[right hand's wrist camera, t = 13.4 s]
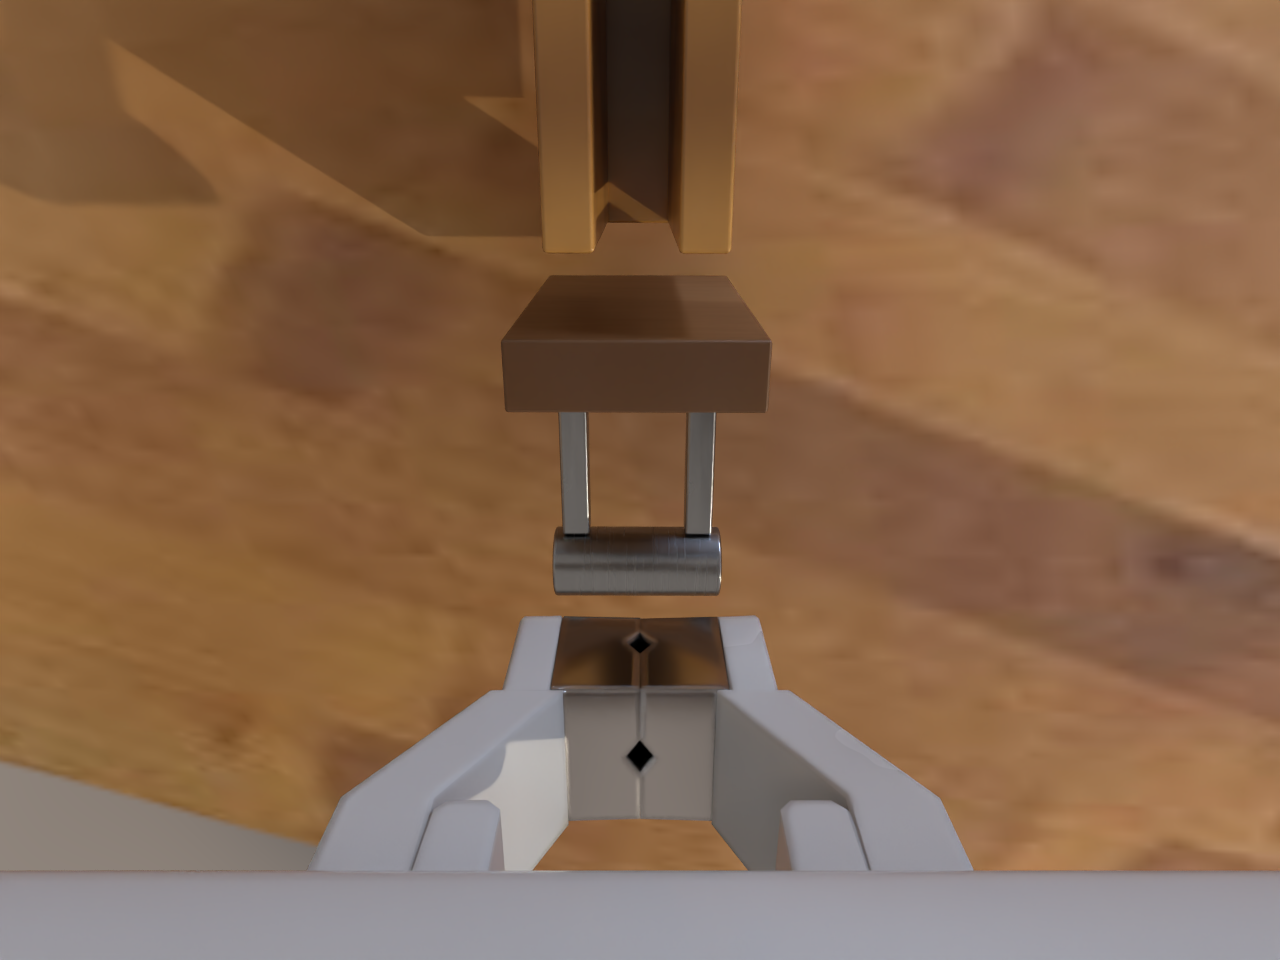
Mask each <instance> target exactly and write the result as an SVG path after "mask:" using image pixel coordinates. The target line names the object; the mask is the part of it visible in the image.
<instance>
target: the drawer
mask: <svg viewBox="0 0 1280 960" xmlns="http://www.w3.org/2000/svg"><path fill="white" fill-rule="evenodd" d="M741 6H742V0H532V7H533V32H534V56H535V80H536V104H537V129H538V153H539V177H540V201H541V225H542V248H543V251H544V252H546V253H591V252H593V251H594V249H595V247H596V245H597V243H598V241H599V239H600V237H601V235H602V233H603V230H604V228H605V226H606V224H607V223H669V225H670V228H671V230H672V233H673V235H674V238H675V240H676V243H677V245H678V248H679V250H680V252H681V253H683V254H727V253H729V252H730V250H731V239H732V216H733V192H734V169H735V146H736V122H737V99H738V76H739V52H740V29H741ZM501 350H502V366H503V382H504V398H505V410H506V411H507V412H558V416H559V443H560V470H561V497H562V524H563V527H557V528H556V530H555V534H554V543H553V585H554V591H555V594H556V595H619V596H717V595H719V592H720V587H721V571H722V556H721V538H720V532H719V529H718V528H717V527H712V512H713V487H714V461H715V436H716V413H765V412H767V410H768V401H769V385H770V370H771V354H772V341H771V340H770V338H769V337H768V335H767V334H766V332H765V331H764V329H763V328H762V327H761V325H760V324H759V322H758V321H757V319H756V318H755V317H754V315H753V314H752V312H751V311H750V309H749V308H748V307H747V305H746V304H745V302H744V301H743V299H742V298H741V296H740V295H739V294H738V292H737V291H736V289H735V288H734V286H733V285H732V284H731V282H730V281H729V279H728V278H727V277H726V276H562V275H551V276H549V278H548V279H547V280H546V282H545V283H544V284H543V286H542V287H541V288H540V290H539V291H538V292H537V294H536V295H535V296H534V298H533V299H532V300H531V302H530V303H529V304H528V306H527V307H526V308H525V310H524V311H523V312H522V314H521V315H520V316H519V318H518V319H517V320H516V322H515V323H514V324H513V326H512V327H511V329H510V330H509V331H508V333H507V334H506V335H505V337H504V338H503V339H502V341H501ZM589 412H665V413H686V449H685V489H684V527H590V526H591V500H590V455H589Z"/></svg>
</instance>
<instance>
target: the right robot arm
mask: <svg viewBox="0 0 1280 960" xmlns="http://www.w3.org/2000/svg"><path fill="white" fill-rule="evenodd" d="M611 819H667V820H704V821H712V825H713V826H714V828H715V829H716V830H717V831H718V833H719V834H720V835H721V836H722V838H723V839H724V840H725V842H726V843H727V844H728V845H729V847H730V848H731V849H732V850H733V852H734V853H735V854H736V855H737V857H738V858H739V859H740V861H741V862H742V863H743V864H744V866H745V867H746V868H747V869H748V871H532V870H533V869H534V867H535V866H536V865H537V864H538V862H539V861H540V860H541V859H542V857H543V856H544V855H545V854H546V852H547V851H548V850H549V849H550V847H551V846H552V845H553V844H554V842H555V841H556V840H557V838H558V837H559V836H560V835H561V833H562V832H563V831H564V830H565V828H566V827H567V826H568V821H576V820H611ZM0 960H1280V871H974V870H973V868H972V866H971V863H970V861H969V859H968V857H967V855H966V853H965V851H964V848H963V846H962V844H961V842H960V840H959V838H958V836H957V833H956V831H955V829H954V827H953V825H952V823H951V821H950V819H949V816H948V814H947V812H946V810H945V808H944V806H943V804H942V801H941V799H940V798H939V797H938V796H936V795H935V794H933V793H932V792H931V791H929V790H928V789H926V788H925V787H924V786H922V785H921V784H919V783H918V782H917V781H915V780H914V779H912V778H911V777H910V776H908V775H907V774H905V773H904V772H903V771H901V770H900V769H899V768H897V767H896V766H894V765H893V764H892V763H890V762H889V761H887V760H886V759H885V758H883V757H882V756H880V755H879V754H878V753H876V752H875V751H873V750H872V749H871V748H869V747H868V746H866V745H865V744H864V743H862V742H861V741H859V740H858V739H857V738H855V737H854V736H852V735H851V734H850V733H848V732H847V731H845V730H844V729H843V728H841V727H840V726H838V725H837V724H836V723H834V722H833V721H831V720H830V719H829V718H827V717H826V716H824V715H823V714H822V713H820V712H819V711H818V710H816V709H815V708H813V707H812V706H811V705H809V704H808V703H806V702H805V701H804V700H802V699H801V698H799V697H798V696H797V695H795V694H794V693H792V692H791V691H789V690H778V689H777V685H776V681H775V677H774V674H773V670H772V666H771V662H770V658H769V655H768V651H767V647H766V643H765V640H764V636H763V632H762V628H761V624H760V621H759V618H757V617H756V616H755V615H754V616H730V617H690V618H650V619H640V618H621V617H570V616H564V617H563V618H562V617H561V616H525V617H524V618H523V619H522V620H521V621H520V624H519V627H518V631H517V635H516V639H515V643H514V647H513V650H512V654H511V658H510V662H509V666H508V670H507V673H506V677H505V681H504V685H503V689H502V690H491V691H489V692H488V693H486V694H485V695H483V696H482V697H481V698H479V699H478V700H476V701H475V702H474V703H472V704H471V705H469V706H468V707H467V708H465V709H464V710H462V711H461V712H460V713H458V714H457V715H455V716H454V717H453V718H451V719H450V720H448V721H447V722H446V723H444V724H443V725H441V726H440V727H439V728H437V729H436V730H434V731H433V732H432V733H430V734H429V735H427V736H426V737H425V738H423V739H422V740H420V741H419V742H418V743H416V744H415V745H413V746H412V747H411V748H409V749H408V750H406V751H405V752H403V753H402V754H401V755H399V756H398V757H396V758H395V759H394V760H392V761H391V762H389V763H388V764H387V765H385V766H384V767H382V768H381V769H380V770H378V771H377V772H375V773H374V774H373V775H371V776H370V777H368V778H367V779H366V780H364V781H363V782H361V783H360V784H359V785H357V786H356V787H354V788H353V789H352V790H350V791H349V792H347V793H346V794H345V795H343V796H342V797H341V798H340V800H339V802H338V804H337V807H336V809H335V811H334V813H333V815H332V817H331V819H330V821H329V823H328V826H327V828H326V830H325V832H324V834H323V836H322V838H321V840H320V842H319V845H318V847H317V849H316V851H315V853H314V855H313V857H312V859H311V861H310V864H309V866H308V868H307V870H306V871H0Z"/></svg>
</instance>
